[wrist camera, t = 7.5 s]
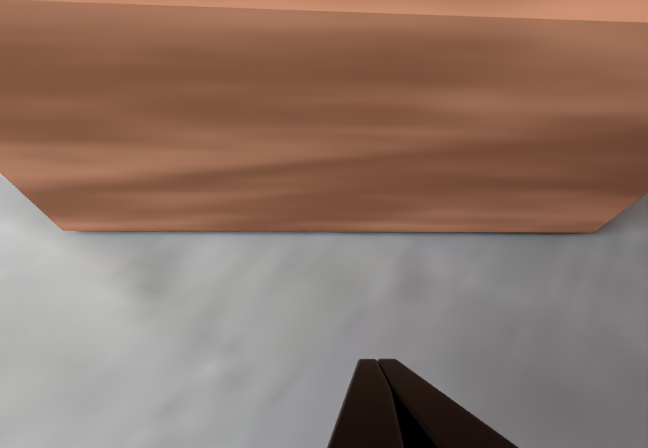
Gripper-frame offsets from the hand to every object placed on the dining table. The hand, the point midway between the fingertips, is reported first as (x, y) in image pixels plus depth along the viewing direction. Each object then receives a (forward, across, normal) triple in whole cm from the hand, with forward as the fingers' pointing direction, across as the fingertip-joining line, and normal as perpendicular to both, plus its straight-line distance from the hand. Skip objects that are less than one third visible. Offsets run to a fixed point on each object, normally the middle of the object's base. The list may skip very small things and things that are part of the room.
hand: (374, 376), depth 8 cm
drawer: (+14, 0, -6) cm, 15 cm away
